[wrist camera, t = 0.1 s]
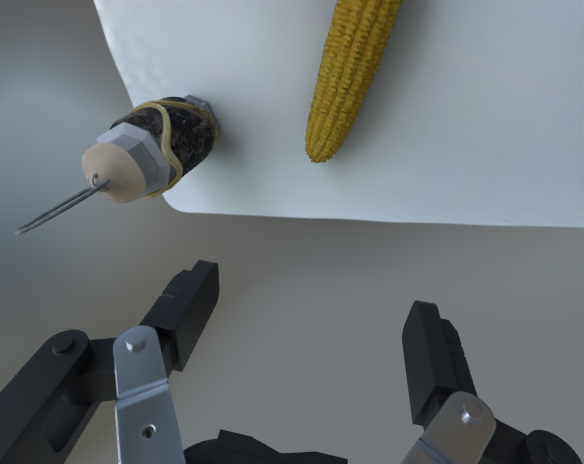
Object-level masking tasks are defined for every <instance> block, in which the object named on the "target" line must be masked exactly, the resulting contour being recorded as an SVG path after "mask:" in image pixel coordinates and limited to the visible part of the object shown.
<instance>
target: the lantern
mask: <svg viewBox="0 0 584 464" xmlns="http://www.w3.org/2000/svg"><path fill="white" fill-rule="evenodd" d="M219 126H220V125H219V123H218V121H217V119H216V118H215V116H214V114H213V112H212V111H211V109H210V107H209V105H208V103H207V102H205V101H202V100H200V99H198V98H195V97H193V96H191V95H188V96H186V97H184V98H180V97H167V98H163V99H160V100H155V101H149V102H145V103H143V104H140V105H138V106H137V107H135V108H134V109H133V110H132V111H131V112H130V113H129V114H128V115H126V116H124V117H122V118H120V119H118V120H117V121H116V122H114V124H113V125H112V126H111V128H110V129H109V131H107V132H106V133H104V134H102V135H100V136H99V137H98V138H97V144H96V145H94V146H92V147H90V148H89V149H88V150H87V151H86V152H85V153H84V155H83V157H82V168H83V170H84V173H85V175H86V177H87V178H88V180H89V181H90V183H91V187H89V188H87V189H85V190H83V191H81V192H79V193H78V194H76V195H74V196H72V197H70V198H69V199H67V200H65V201H63V202H62V203H60V204H58V205H56V206H55V207H53V208H51V209H49V210H48V211H46V212H44V213H43V214H41V215H39V216H38V217H36V218H35V219H33V220H31V221H30V222H28V223H27V224H25V225H24V226H22V227H21V228H19V229H18V230H17V231H16V232H15V234H17V235H19V234H22V233H25V232H27V231H29V230H31V229H33V228H35V227H37V226H39V225H41V224H43V223H44V222H46V221H48V220H50V219H52V218H53V217H55V216H57V215H59V214H60V213H62V212H64V211H66V210H68V209H69V208H71V207H73V206H74V205H76V204H78V203H79V202H81V201H83V200H84V199H86V198H87V197H89V196H91V195H92V194H94V193H95V192H97V191H98V192H99V193H100V194H101V195H102V196H104V197H105V198H107V199H108V200H110V201H113V202H116V203H128V202H131V201H134V200H136V199H137V198H139V197H141V198H142V197H143V198H144V199H148V198H152V197H155V196H157V195H160V194H162V193H164V192H165V191H167V190H169V189H171V188H172V187H173V186H174V185H175V184H176V183H177V182H178V181H179V180H180V179H181V178H182V177H183V176H184V175H185V174H187V173H188V172H189V171H191V170H192V169H193V168H194V167H196V166H197V165H198V164H199V163H201V162H202V161H203V160H204V159H205V158H206V157H207V155H208V154H209V152H211V151H212V150H213V149H214V148H215V145H216V142H217V137H218V131H219ZM92 189H93V190H92ZM90 190H91V191H90ZM88 191H89V192H88ZM86 192H88V193H86ZM85 193H86V194H85ZM83 194H84V195H83ZM81 195H83V196H81ZM79 196H81V197H79ZM77 197H79V198H78V199H76V198H77ZM74 199H76V200H75V201H73V202H71V203H69V204H68V205H66V206H64V207H62V206H63V205H65V204H67V203H68V202H70V201H72V200H74ZM60 207H62V208H61V209H59V210H57V211H56V212H54V213H52V214H50V213H51V212H53V211H55V210H56V209H58V208H60ZM48 214H50V215H48ZM46 215H48V216H47V217H45V216H46ZM43 217H44V218H43ZM42 218H43V219H42ZM40 219H41V220H40ZM38 220H39V221H38Z"/></svg>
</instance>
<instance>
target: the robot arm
mask: <svg viewBox="0 0 584 464" xmlns="http://www.w3.org/2000/svg"><path fill="white" fill-rule="evenodd" d="M218 297H219V271H218V264H217V263H214V262H208V261H203V260H199V261H197V263H196V264H195V266H194V267H193V269H192V271H188V270H183V271H182V272H180V273H179V274H177V275H176V276H174V277H173V279H172V280H171V281H170V283H169V284H168V286H167V288H165V290H164V291H163V293H162V295H161V296H160V297H159V298H158V300H157V301H156V302H155V304H154V305H153V306H152V308H151V309H150V310H149V312H148V314H147V315H146V316H145V317H144V319H143V320H142V321H141V323H140V324H139V325H138V326H135V327H131V328H129V329H127V330H125V331H124V332H122V333H121V334H120V335H119V336H118V337H116V338H108V339H95V340H89V338H88V336H87V334H86V333H84V332H83V331H80V330H67V331H64V332H60V333H58V334H56V335H54V336H52V337H51V338H49V339H48V340H47V341H46V342H45V343H44V344H43V345H42V346H41V347H40V348H39V350H38V351H37V352H36V353H35V354H34V355H33V356H32V357H31V359H29V361H28V362H27V363H26V364H25V365H24V366H23V368H21V370H20V371H19V372H18V373H17V374H16V375H15V376H14V377H13V379H12V380H11V381H10V382H9V383H8V384H7V385H6V386H5V387H4V389H3V390H2V391H1V392H0V464H64V462H65V460H66V458H67V457H68V455H69V454H70V452H71V451H72V449H73V447H74V446H75V444H76V442H77V441H78V439H79V438H80V436H81V434H82V432H83V431H84V429H85V428H86V426H87V424H88V423H89V421H90V419H91V418H92V416H93V415H94V413H95V411H96V410H97V408H98V406H99V405H100V403H101V402H102V401H111V400H116V401H115V416H116V429H117V443H118V455H119V464H347V463H348V460H347V459H345V458H340V457H336V456H332V455H328V454H324V453H319V452H300V453H279V452H277V451H276V450H274V449H272V448H270V447H269V446H267V445H265V444H263V443H261V442H260V441H258V440H256V439H254V438H253V437H251V436H246V435H242V434H238V433H234V432H229V431H225V430H220V432H219V435H218V438H217V439H212V440H206V441H202V442H200V443H197V444H194V445H192V446H190V447H188V448H187V449H185V450H183V447H182V443H181V438H180V433H179V429H178V425H177V420H176V415H175V411H174V407H173V402H172V397H171V392H170V388H169V384H168V378H169V376H170V374H171V372H172V370H175V371H180V372H182V371H183V369H184V367H185V365H186V363H187V361H188V359H189V357H190V355H191V353H192V351H193V349H194V347H195V345H196V343H197V341H198V339H199V337H200V335H201V333H202V331H203V330H204V328H205V326H206V323H207V321H208V319H209V318H210V316H211V314H212V312H213V310H214V308H215V306H216V304H217V301H218ZM402 343H403V352H404V360H405V367H406V375H407V383H408V391H409V399H410V407H411V415H412V423H413V424H417V425H421V426H423V427H424V433H423V434H422V436H421V437H420V438H419V439H418V440H417V441H416V443H415V444H414V446H413V447H412V448H411V450H410V451H409V452H408V454H407V455H406V457H405V458H404V459H403V461H402V462H401V464H582V462H581V460H580V458H579V457H578V455H577V454H576V453H575V451H574V450H573V449H572V448H571V447H570V446H569V445H568V444H567V443H566V442H565V441H564V440H562V439H561V438H559V437H558V436H556V435H554V434H552V433H550V432H547V431H544V430H534V431H532V432H531V433H530V434H529V435H526V434H524V433H522V432H520V431H518V430H516V429H514V428H512V427H510V426H508V425H506V424H504V423H502V422H501V421H499V420H498V419H496V418H495V417H494V415H493V413H492V411H491V410H490V408H489V407H488V406H487V405H486V404H485V403H484V402H483V401H482V400H481V399H479V398H478V396H477V393H476V390H475V387H474V384H473V381H472V377H471V374H470V371H469V368H468V364H467V361H466V358H465V357H464V351H463V348H462V346H461V342H460V338H459V335H458V332H457V330H456V329H455V328H454V326H453V325H452V324H451V323H450V321H449V320H446V319H441V318H440V315H439V311H438V307H437V305H436V304H434V303H428V302H423V301H415V302H414V303H413V305H412V308H411V310H410V313H409V315H408V318H407V320H406V322H405V325H404V328H403V333H402Z"/></svg>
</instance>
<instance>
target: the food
mask: <svg viewBox="0 0 584 464" xmlns="http://www.w3.org/2000/svg"><path fill="white" fill-rule="evenodd" d="M401 2H402V0H337V4H336V5H335V10H334V14H333V18H332V22H331V26H330V29H329V33H328V38H327V40H326V44H325V46H324V47H325V50H324V51H323V57H322V63H321V65H320V72H319V74H318V82H317V85H316V88H315V93H314V97H313V101H312V104H311V106H310V107H311V109H310V113H309V117H308V123H307V129H306V136H305V138H306V139H305V141H306V148H305V151H306V152H307V153H306V154H308V155H309V158H310V159H312V160H311V162H315V163H319V162H326V160H327V159H328V160H329V159H330V158H332V155H333V154H335V153H336V152H337V151H338V149H339V148H340V147H341V145H342V143H343V141H344V140H345V138H346V137H347V134H348V133H349V130H350V129H351V126H352V124H353V123H354V120H355V118H356V117H357V114H358V112H359V110H360V108H361V105H362V100H363V99H364V98H365V95H366V92H367V91H368V89H369V87H370V84H371V83H372V81H373V77H374V75H375V72H376V70H377V67H378V65H379V63H380V62H381V59H382V56H383V54H384V48H385V47H386V46H387V45H386V44H387V40H388V38H389V36H390V32H391V29H392V27H393V25H394V24H393V23H394V21H395V18H396V15H397V12H398V9H399V6H400V4H401Z"/></svg>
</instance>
